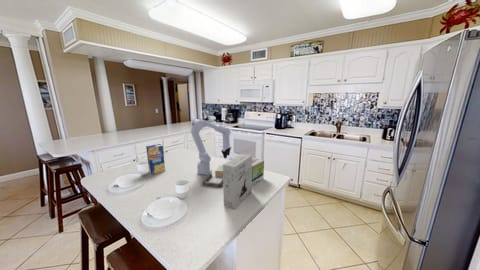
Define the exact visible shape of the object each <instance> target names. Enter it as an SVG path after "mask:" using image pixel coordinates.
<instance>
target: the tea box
mask: <svg viewBox="0 0 480 270" xmlns="http://www.w3.org/2000/svg"><path fill="white" fill-rule="evenodd" d="M264 171H265V160H261V159H258V158H254V157H252V187H253V186H254V184H255V185H256V184H258V183H259V182H260V181H262V180H263V179H264ZM261 179H262V180H261ZM258 181H259V182H258Z"/></svg>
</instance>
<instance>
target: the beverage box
mask: <svg viewBox="0 0 480 270" xmlns="http://www.w3.org/2000/svg"><path fill="white" fill-rule="evenodd" d="M164 154H165V153H164V146H163V144H161V143H157V144H151V145H146V156H147V165H148V172H149V174H150V175H154V174H157V173H162V172H165V171H166V166H165V155H164Z"/></svg>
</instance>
